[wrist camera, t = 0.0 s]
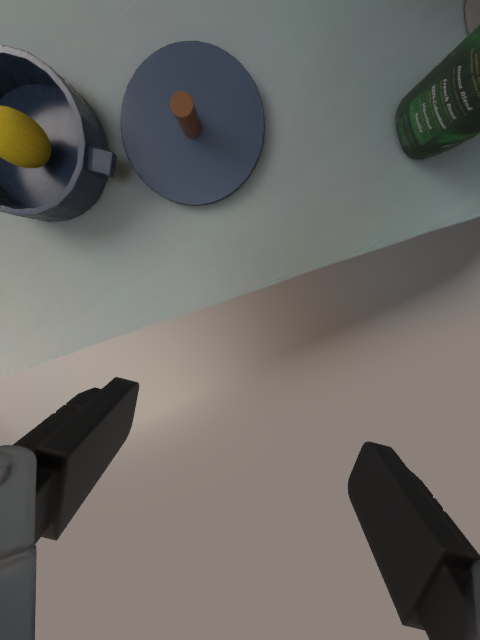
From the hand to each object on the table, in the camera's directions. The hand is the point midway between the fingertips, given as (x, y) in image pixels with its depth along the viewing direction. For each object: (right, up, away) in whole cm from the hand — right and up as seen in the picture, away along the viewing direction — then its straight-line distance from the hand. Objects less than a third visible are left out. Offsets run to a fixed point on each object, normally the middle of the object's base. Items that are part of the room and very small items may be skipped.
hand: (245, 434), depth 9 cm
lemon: (-25, +25, +25) cm, 44 cm away
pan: (-25, +25, +25) cm, 44 cm away
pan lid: (-6, +27, +24) cm, 36 cm away
